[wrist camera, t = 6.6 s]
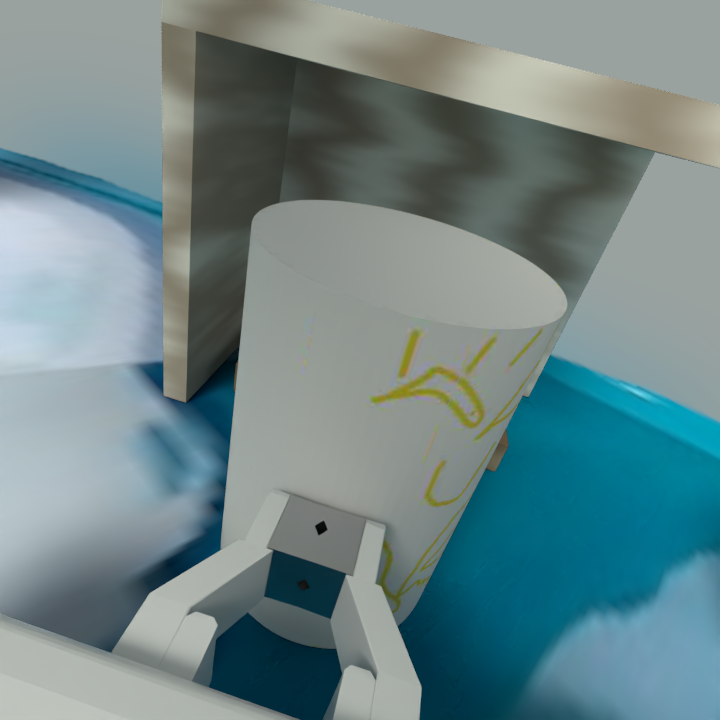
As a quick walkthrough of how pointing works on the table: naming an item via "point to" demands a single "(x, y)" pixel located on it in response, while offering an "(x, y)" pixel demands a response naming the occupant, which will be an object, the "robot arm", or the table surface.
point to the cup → (377, 379)
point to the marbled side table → (385, 150)
